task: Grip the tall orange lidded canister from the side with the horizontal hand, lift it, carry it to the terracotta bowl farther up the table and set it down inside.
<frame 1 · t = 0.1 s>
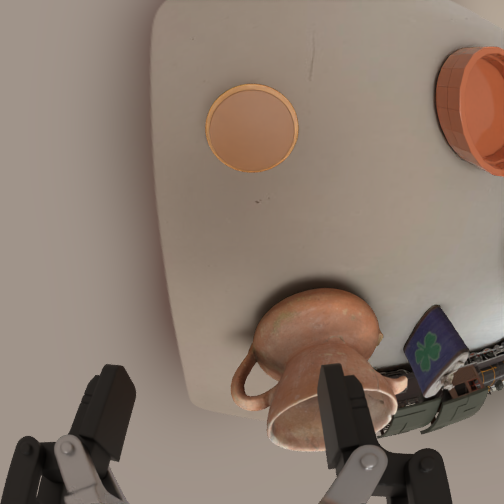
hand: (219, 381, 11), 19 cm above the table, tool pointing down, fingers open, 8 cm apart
orange lidded canister: (251, 118, 24), on the table
terracotta bowl: (478, 106, 22), on the table
toy train: (439, 366, 42), on the table
ceramic jug: (308, 323, 36), on the table
flask: (420, 328, 37), on the table
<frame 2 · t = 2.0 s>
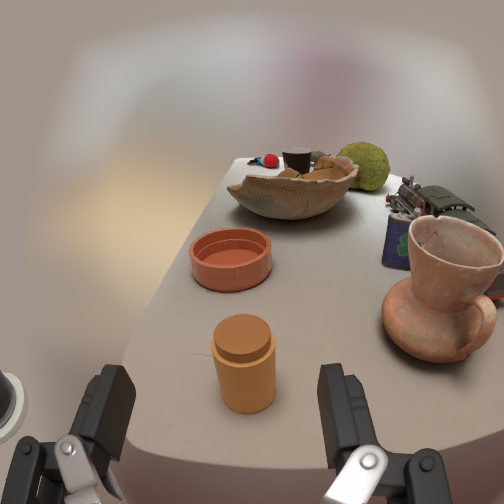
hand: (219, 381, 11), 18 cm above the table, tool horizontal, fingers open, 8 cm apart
rhino figurine: (317, 167, 105), on the table
orange lidded canister: (248, 391, 30), on the table
terracotta bowl: (232, 269, 50), on the table
ceramic bowl: (293, 212, 70), on the table
toy figure: (265, 166, 109), on the table
toy train: (433, 242, 55), on the table
ceramic jug: (428, 336, 34), on the table
flask: (405, 266, 48), on the table
fruit: (360, 188, 84), on the table
coffee mug: (297, 182, 90), on the table
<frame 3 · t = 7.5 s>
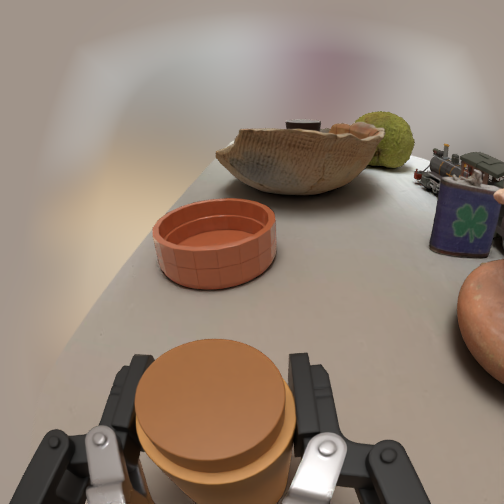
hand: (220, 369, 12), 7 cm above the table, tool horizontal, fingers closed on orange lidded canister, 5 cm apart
orange lidded canister: (236, 476, 13), on the table, touching gripper
terracotta bowl: (217, 256, 34), on the table
ceramic bowl: (302, 188, 54), on the table
toy train: (481, 224, 38), on the table
flask: (459, 252, 31), on the table
fruit: (380, 166, 67), on the table
coffee mug: (304, 159, 74), on the table
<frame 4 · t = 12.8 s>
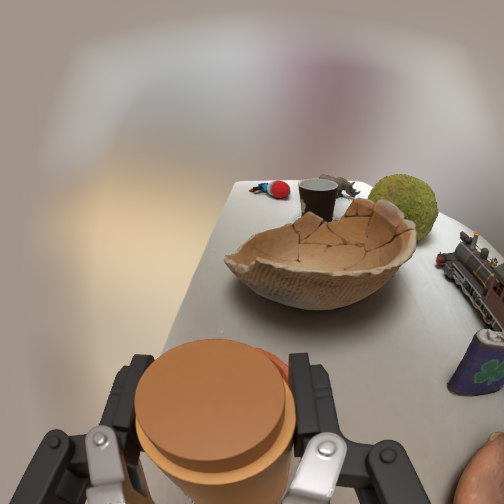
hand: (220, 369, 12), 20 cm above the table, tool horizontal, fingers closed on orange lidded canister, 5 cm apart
rhino figurine: (337, 197, 85), on the table
orange lidded canister: (236, 476, 13), point 13 cm above the table, touching gripper
ceramic bowl: (319, 285, 49), on the table
toy figure: (272, 195, 88), on the table
toy train: (500, 332, 34), on the table
flask: (475, 387, 27), on the table
fruit: (398, 235, 63), on the table
coffee mug: (317, 224, 70), on the table
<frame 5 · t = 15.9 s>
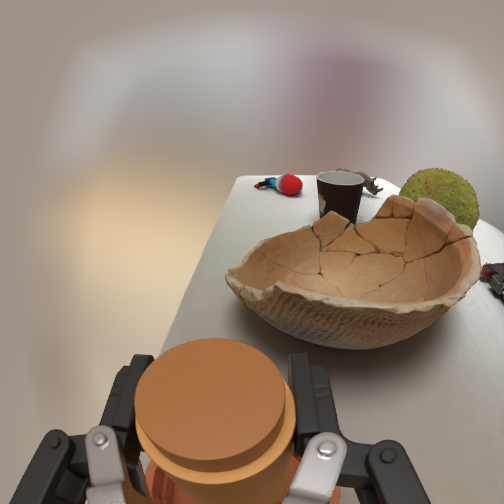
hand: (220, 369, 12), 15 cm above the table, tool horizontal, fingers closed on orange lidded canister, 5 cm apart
rhino figurine: (356, 194, 72), on the table
orange lidded canister: (236, 476, 13), point 8 cm above the table, touching gripper
terracotta bowl: (244, 500, 17), on the table
ceramic bowl: (349, 307, 37), on the table
toy figure: (280, 191, 76), on the table
fruit: (432, 240, 50), on the table
coffee mug: (337, 226, 57), on the table
when the fingers open (8 cm above the table, at t = 18.4 s): orange lidded canister stays where it is, resting on terracotta bowl.
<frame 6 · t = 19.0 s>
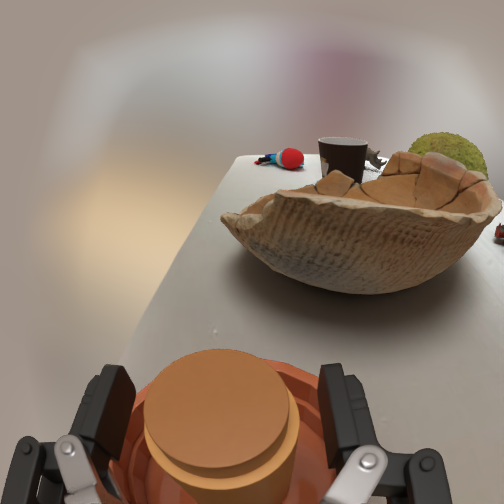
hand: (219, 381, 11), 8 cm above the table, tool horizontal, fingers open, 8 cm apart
rhino figurine: (359, 169, 69), on the table
orange lidded canister: (240, 479, 13), point 1 cm above the table, touching terracotta bowl
terracotta bowl: (239, 481, 14), on the table
ceramic bowl: (359, 263, 33), on the table
toy figure: (281, 166, 72), on the table
fruit: (440, 207, 47), on the table
coffee mug: (341, 193, 54), on the table
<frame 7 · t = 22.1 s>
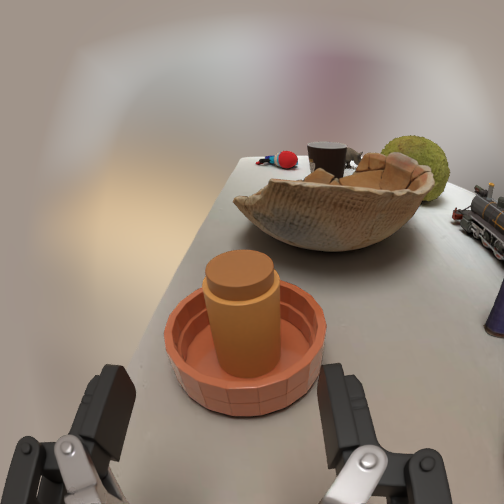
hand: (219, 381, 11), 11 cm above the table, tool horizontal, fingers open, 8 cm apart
rhino figurine: (345, 168, 81), on the table
orange lidded canister: (248, 353, 26), point 1 cm above the table, touching terracotta bowl
terracotta bowl: (248, 358, 26), on the table
ceramic bowl: (334, 236, 46), on the table
toy figure: (279, 166, 85), on the table
fruit: (410, 197, 59), on the table
coffee mug: (327, 187, 66), on the table
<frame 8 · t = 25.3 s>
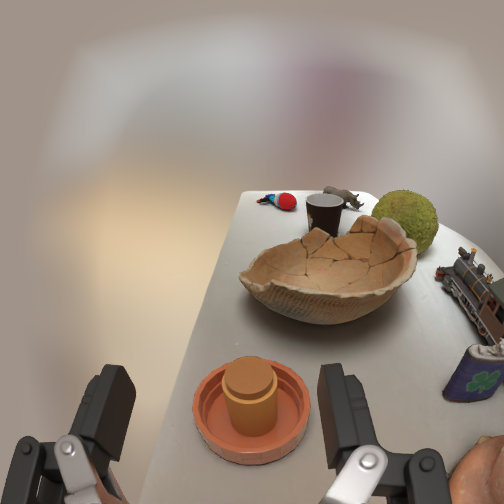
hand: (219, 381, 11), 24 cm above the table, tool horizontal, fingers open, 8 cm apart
rhino figurine: (341, 208, 88), on the table
orange lidded canister: (253, 417, 32), point 1 cm above the table, touching terracotta bowl
terracotta bowl: (253, 419, 33), on the table
ceramic bowl: (326, 299, 52), on the table
toy figure: (278, 206, 92), on the table
toy train: (493, 342, 37), on the table
ceramic jug: (484, 501, 16), on the table
flask: (467, 395, 30), on the table
fruit: (400, 247, 66), on the table
coffee mug: (323, 236, 73), on the table
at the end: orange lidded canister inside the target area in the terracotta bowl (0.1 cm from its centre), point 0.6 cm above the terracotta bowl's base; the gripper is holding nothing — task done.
